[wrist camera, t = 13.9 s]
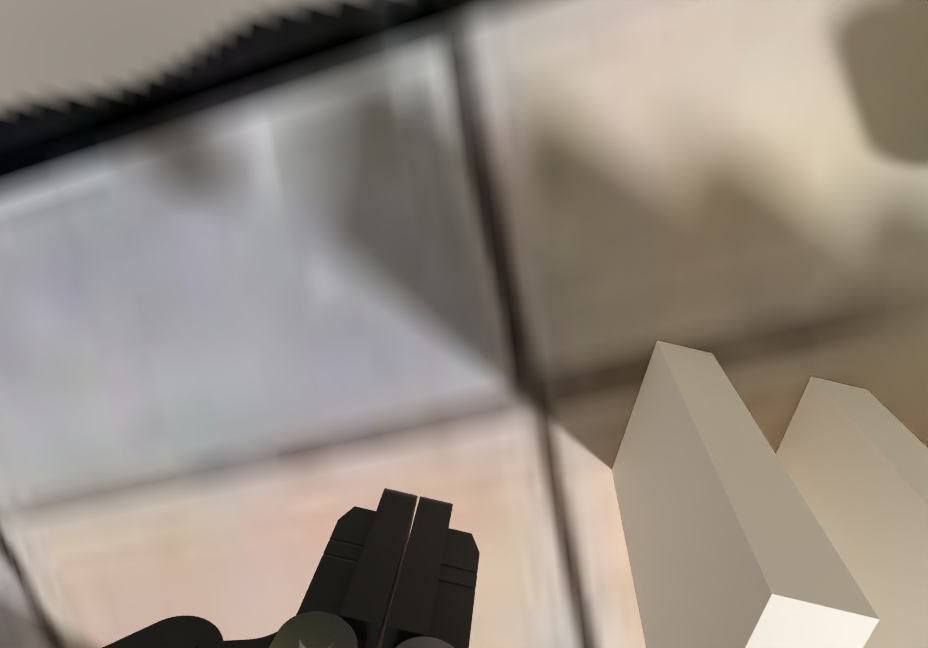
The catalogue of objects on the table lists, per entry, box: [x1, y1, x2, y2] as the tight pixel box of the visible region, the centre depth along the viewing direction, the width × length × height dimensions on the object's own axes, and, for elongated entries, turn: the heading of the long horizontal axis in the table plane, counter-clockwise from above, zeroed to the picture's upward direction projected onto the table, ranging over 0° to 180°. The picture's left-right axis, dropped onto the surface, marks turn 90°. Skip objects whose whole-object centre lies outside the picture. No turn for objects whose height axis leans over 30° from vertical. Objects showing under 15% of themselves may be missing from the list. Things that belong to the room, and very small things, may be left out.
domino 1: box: [612, 340, 880, 648], centre depth 17 cm, size 2×5×11 cm, turn 168°
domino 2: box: [776, 376, 928, 648], centre depth 17 cm, size 2×5×11 cm, turn 168°
